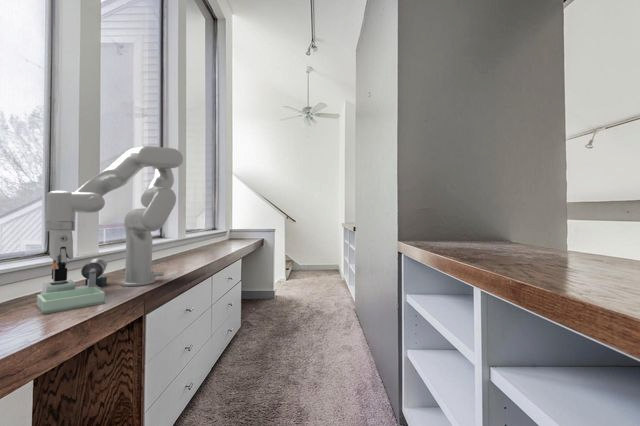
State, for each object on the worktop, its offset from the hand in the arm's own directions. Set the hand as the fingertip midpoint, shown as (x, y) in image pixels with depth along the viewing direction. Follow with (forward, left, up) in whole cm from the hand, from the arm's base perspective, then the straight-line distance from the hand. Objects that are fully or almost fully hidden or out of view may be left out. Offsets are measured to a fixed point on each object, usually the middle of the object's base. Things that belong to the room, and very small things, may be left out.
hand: (59, 279), depth 100 cm
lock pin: (0, 0, -4) cm, 4 cm away
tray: (-1, +13, -6) cm, 15 cm away
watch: (-13, -12, -7) cm, 19 cm away
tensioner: (-4, 0, -6) cm, 7 cm away
